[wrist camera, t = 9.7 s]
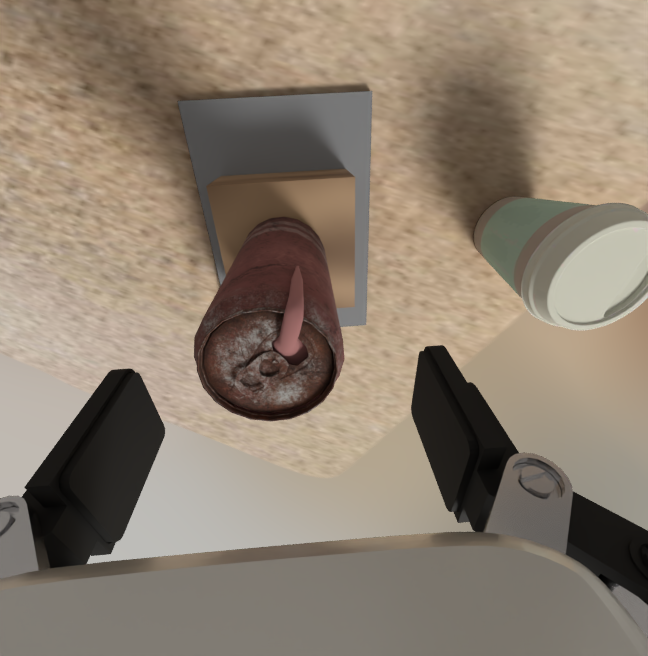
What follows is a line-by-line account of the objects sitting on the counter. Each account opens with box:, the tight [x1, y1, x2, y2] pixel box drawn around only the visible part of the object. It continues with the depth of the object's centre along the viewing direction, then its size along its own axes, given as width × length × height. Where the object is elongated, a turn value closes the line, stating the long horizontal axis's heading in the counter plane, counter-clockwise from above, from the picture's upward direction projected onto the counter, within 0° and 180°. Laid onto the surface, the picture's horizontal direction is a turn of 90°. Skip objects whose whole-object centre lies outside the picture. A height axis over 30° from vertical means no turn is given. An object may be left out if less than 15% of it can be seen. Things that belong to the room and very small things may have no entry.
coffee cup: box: [474, 197, 648, 330], centre depth 26 cm, size 8×8×12 cm
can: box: [194, 217, 344, 421], centre depth 19 cm, size 6×6×14 cm
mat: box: [178, 91, 372, 327], centre depth 29 cm, size 20×14×1 cm
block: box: [206, 169, 355, 308], centre depth 27 cm, size 10×10×5 cm
